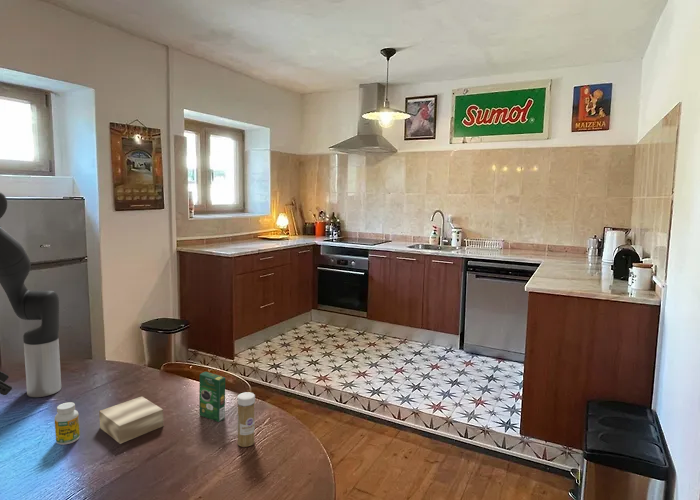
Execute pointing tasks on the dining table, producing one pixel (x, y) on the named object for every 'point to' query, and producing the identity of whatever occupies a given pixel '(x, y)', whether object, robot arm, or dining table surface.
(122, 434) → the pale wooden block
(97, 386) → the dining table surface
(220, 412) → the coffee box
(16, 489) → the dining table surface
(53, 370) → the robot arm
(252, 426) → the sprinkles bottle
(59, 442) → the supplement bottle
